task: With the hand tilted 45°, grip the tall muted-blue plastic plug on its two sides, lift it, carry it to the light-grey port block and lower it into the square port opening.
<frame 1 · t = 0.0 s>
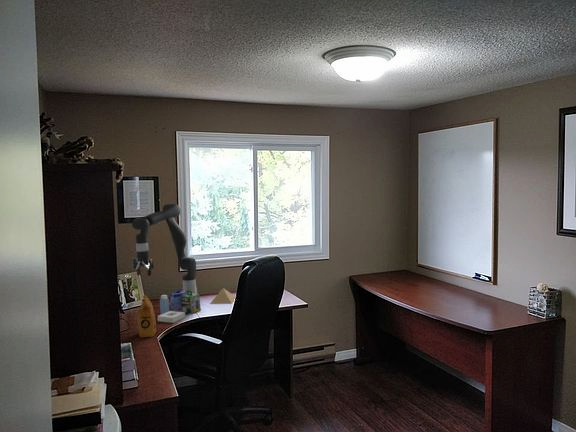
hand: (144, 275, 283), 29 cm above the table, tool pointing down, fingers open, 8 cm apart
coffee package: (147, 334, 258), on the table
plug: (165, 314, 298), on the table
ink cartridge box: (179, 310, 308), on the table
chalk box: (191, 312, 302), on the table
model pyramid: (223, 301, 328), on the table
port block: (171, 319, 285), on the table
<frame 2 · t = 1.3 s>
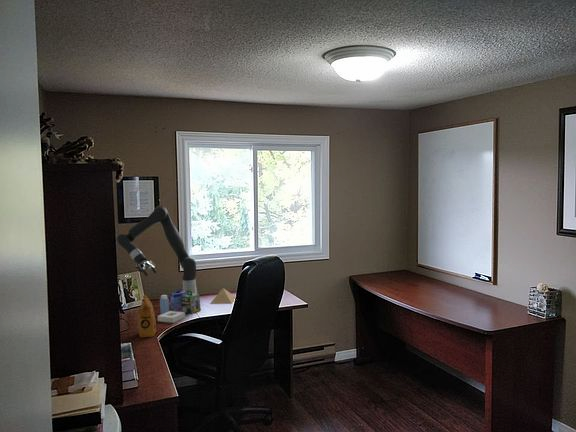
hand: (151, 273, 304), 26 cm above the table, tool tilted 45°, fingers open, 8 cm apart
nothing on the table moved.
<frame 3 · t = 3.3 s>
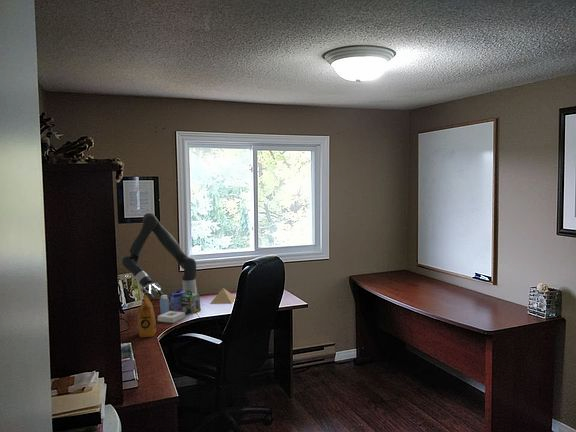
hand: (157, 296, 299), 12 cm above the table, tool tilted 45°, fingers open, 8 cm apart
nothing on the table moved.
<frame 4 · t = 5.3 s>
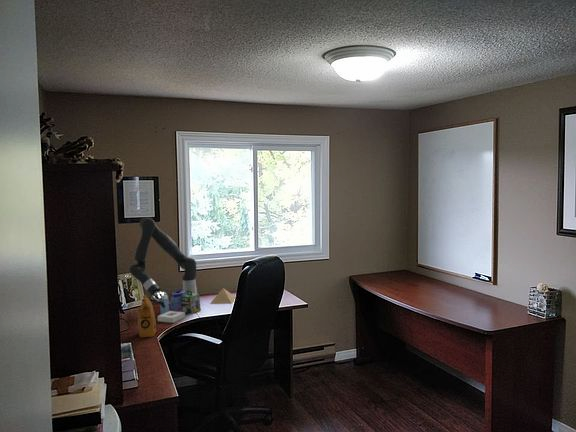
hand: (167, 306, 296), 6 cm above the table, tool tilted 45°, fingers closed on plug, 4 cm apart
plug: (165, 314, 298), on the table, touching gripper
everything else where it was.
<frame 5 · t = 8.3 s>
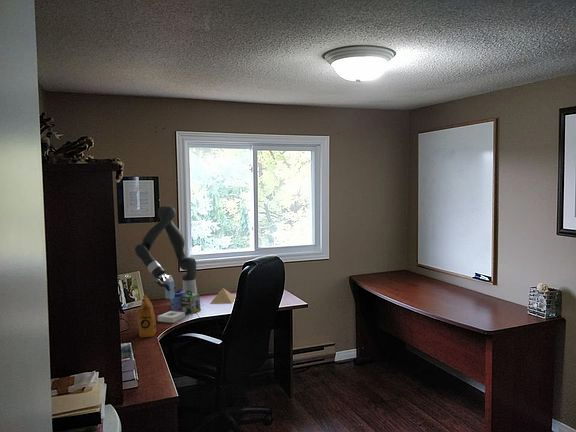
hand: (172, 289, 283), 20 cm above the table, tool tilted 45°, fingers closed on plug, 4 cm apart
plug: (170, 298, 284), point 14 cm above the table, touching gripper
everything else where it was.
when the fingers open (8 cm above the table, at t = 11.4 s): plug drops 1 cm, resting on port block.
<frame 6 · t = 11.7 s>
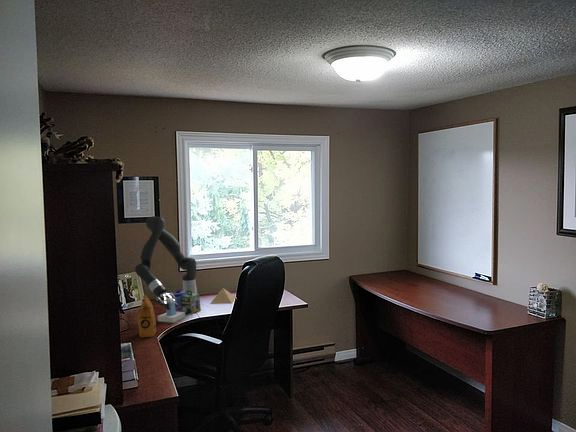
hand: (173, 307, 284), 8 cm above the table, tool tilted 45°, fingers open, 6 cm apart
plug: (171, 318, 285), resting on port block
everything else where it was.
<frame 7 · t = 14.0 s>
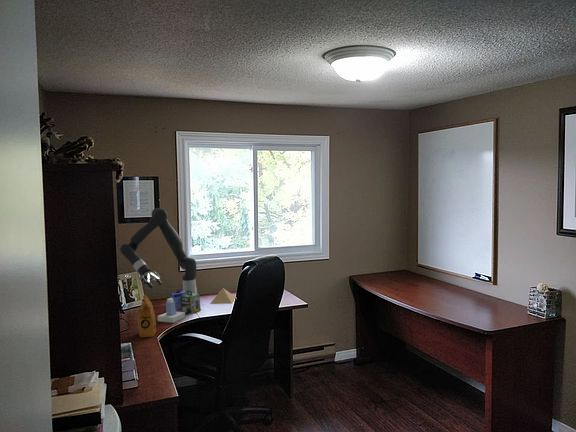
hand: (156, 285, 291), 21 cm above the table, tool tilted 45°, fingers open, 8 cm apart
nothing on the table moved.
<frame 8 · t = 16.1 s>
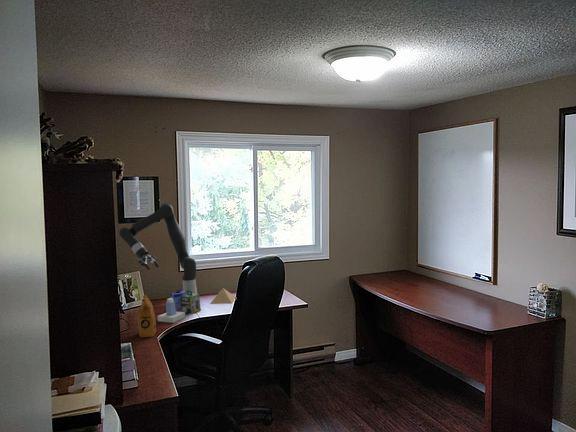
hand: (154, 267, 301), 31 cm above the table, tool tilted 45°, fingers open, 8 cm apart
nothing on the table moved.
at the end: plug 0.1 cm off-centre on the port block, point 0.5 cm above the port block's base; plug tilted 0°; the gripper is holding nothing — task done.
